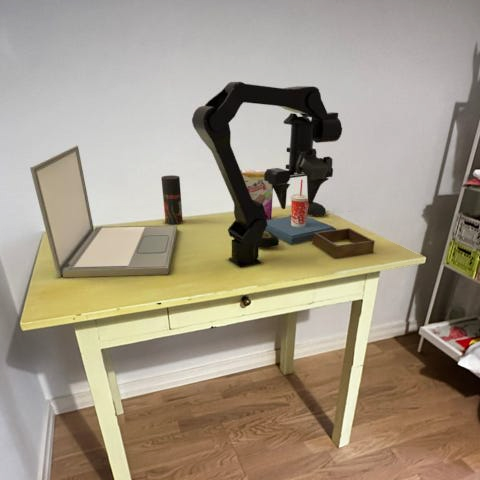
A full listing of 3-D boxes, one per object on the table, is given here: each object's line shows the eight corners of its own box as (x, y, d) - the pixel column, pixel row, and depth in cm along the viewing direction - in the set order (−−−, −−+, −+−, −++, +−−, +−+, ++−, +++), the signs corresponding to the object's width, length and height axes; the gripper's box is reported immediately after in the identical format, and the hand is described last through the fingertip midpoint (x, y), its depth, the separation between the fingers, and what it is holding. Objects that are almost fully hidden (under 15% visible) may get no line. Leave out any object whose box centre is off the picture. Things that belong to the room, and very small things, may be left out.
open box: (334, 258, 111) (336, 246, 109) (312, 243, 121) (313, 232, 119) (372, 252, 115) (375, 241, 113) (348, 238, 125) (349, 227, 123)
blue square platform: (291, 244, 120) (291, 236, 119) (257, 228, 133) (258, 221, 132) (335, 234, 128) (336, 226, 127) (300, 220, 142) (300, 213, 140)
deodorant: (181, 224, 137) (178, 179, 129) (164, 224, 137) (159, 179, 129) (183, 219, 142) (180, 175, 134) (167, 219, 142) (163, 175, 134)
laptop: (168, 274, 101) (157, 165, 88) (56, 277, 100) (28, 167, 86) (177, 230, 131) (170, 144, 118) (91, 232, 130) (74, 145, 116)
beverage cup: (297, 229, 125) (301, 182, 118) (284, 224, 129) (287, 179, 122) (312, 225, 128) (316, 180, 121) (298, 221, 132) (302, 176, 125)
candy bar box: (240, 221, 140) (240, 172, 132) (239, 217, 144) (239, 169, 136) (272, 221, 140) (274, 172, 132) (270, 217, 145) (272, 169, 136)
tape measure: (279, 249, 117) (280, 236, 115) (257, 251, 115) (257, 239, 113) (270, 241, 123) (271, 229, 121) (249, 243, 121) (249, 231, 119)
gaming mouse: (308, 206, 157) (309, 196, 155) (329, 216, 146) (330, 205, 144) (294, 208, 155) (294, 197, 153) (314, 218, 144) (315, 207, 141)
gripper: (291, 150, 91) (287, 219, 98) (351, 145, 99) (343, 208, 107) (263, 145, 99) (262, 208, 107) (321, 140, 107) (315, 199, 115)
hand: (296, 206), depth 109 cm, fingers open, 9 cm apart
